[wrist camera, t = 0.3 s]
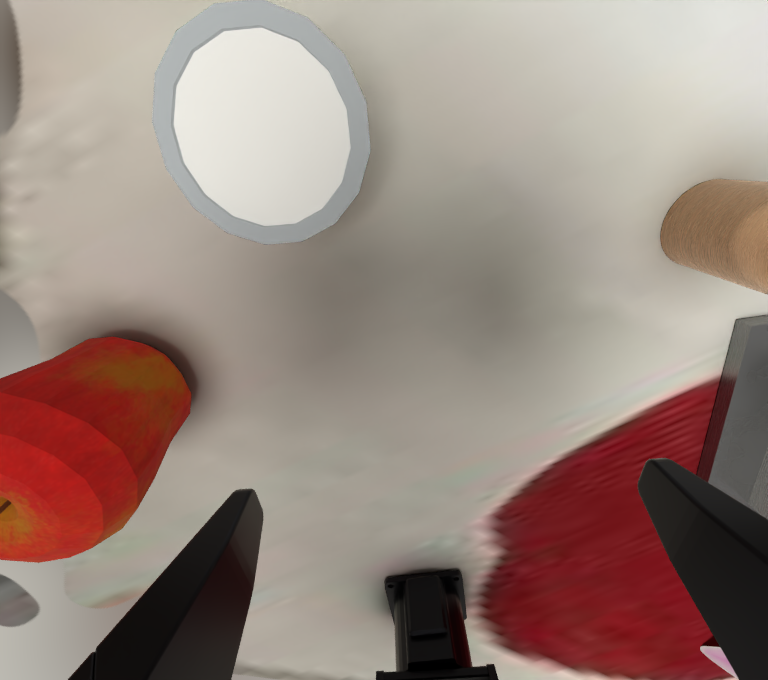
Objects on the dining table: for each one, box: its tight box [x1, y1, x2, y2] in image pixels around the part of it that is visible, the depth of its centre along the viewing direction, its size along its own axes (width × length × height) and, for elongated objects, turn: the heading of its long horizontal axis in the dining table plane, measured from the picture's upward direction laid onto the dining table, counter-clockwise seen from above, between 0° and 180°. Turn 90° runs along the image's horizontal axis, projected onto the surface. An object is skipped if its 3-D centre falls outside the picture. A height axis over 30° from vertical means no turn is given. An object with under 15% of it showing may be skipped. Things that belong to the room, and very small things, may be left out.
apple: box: [0, 337, 191, 563], centre depth 18 cm, size 9×8×12 cm
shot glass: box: [152, 0, 371, 245], centre depth 15 cm, size 7×7×7 cm
